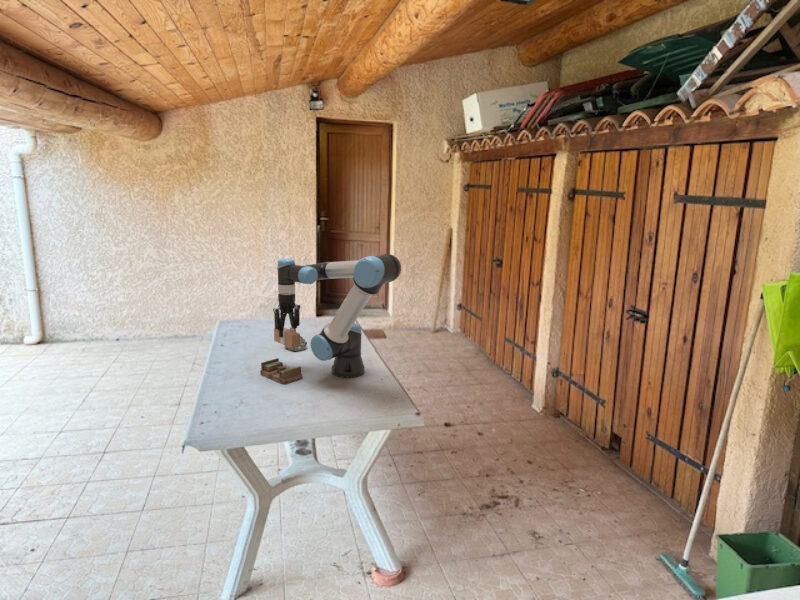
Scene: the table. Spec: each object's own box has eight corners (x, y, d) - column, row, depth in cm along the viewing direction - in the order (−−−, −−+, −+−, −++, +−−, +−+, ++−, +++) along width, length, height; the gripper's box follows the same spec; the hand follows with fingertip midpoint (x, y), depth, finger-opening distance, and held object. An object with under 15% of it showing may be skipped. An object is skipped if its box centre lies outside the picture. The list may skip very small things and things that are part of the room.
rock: (277, 351, 268) (279, 340, 261) (286, 338, 275) (289, 327, 267) (299, 362, 267) (302, 351, 260) (308, 349, 274) (311, 338, 267)
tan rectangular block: (300, 346, 234) (300, 333, 232) (291, 348, 230) (291, 335, 229) (282, 338, 243) (282, 326, 242) (274, 340, 240) (274, 328, 238)
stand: (302, 378, 227) (302, 366, 226) (284, 384, 220) (283, 372, 218) (278, 369, 238) (278, 357, 236) (260, 374, 230) (260, 363, 229)
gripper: (297, 289, 240) (298, 337, 245) (265, 294, 227) (266, 344, 232) (307, 291, 235) (308, 340, 240) (274, 297, 222) (276, 348, 227)
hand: (287, 342), depth 236 cm, fingers closed on tan rectangular block, 4 cm apart
